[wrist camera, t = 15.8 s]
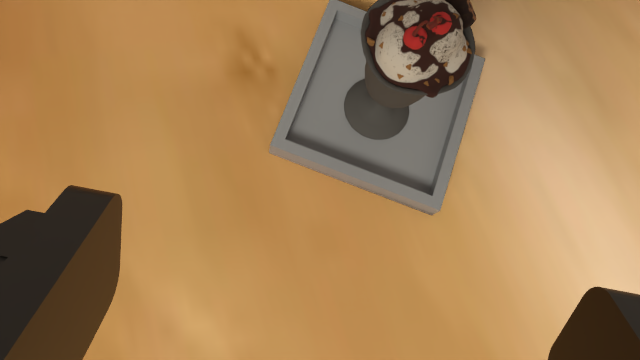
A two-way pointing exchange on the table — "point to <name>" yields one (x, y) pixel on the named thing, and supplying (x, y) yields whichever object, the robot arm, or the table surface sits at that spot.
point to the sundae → (408, 60)
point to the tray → (361, 152)
